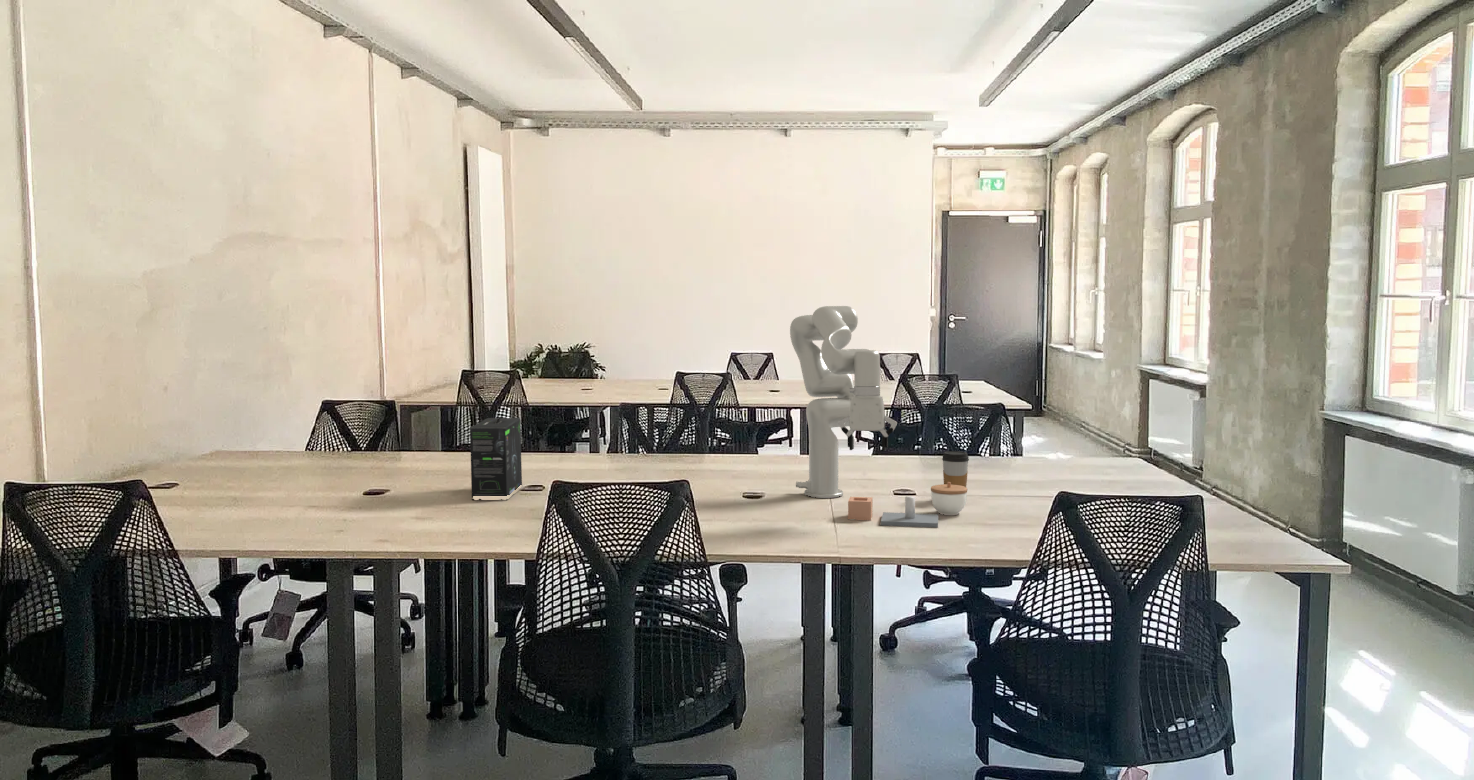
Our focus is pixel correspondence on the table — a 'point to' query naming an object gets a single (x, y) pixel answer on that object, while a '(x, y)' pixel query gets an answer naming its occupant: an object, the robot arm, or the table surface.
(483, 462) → the headset box
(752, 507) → the table surface
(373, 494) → the table surface
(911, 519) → the board
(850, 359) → the robot arm
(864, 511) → the collar
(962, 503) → the lidded jar
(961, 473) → the coffee cup
